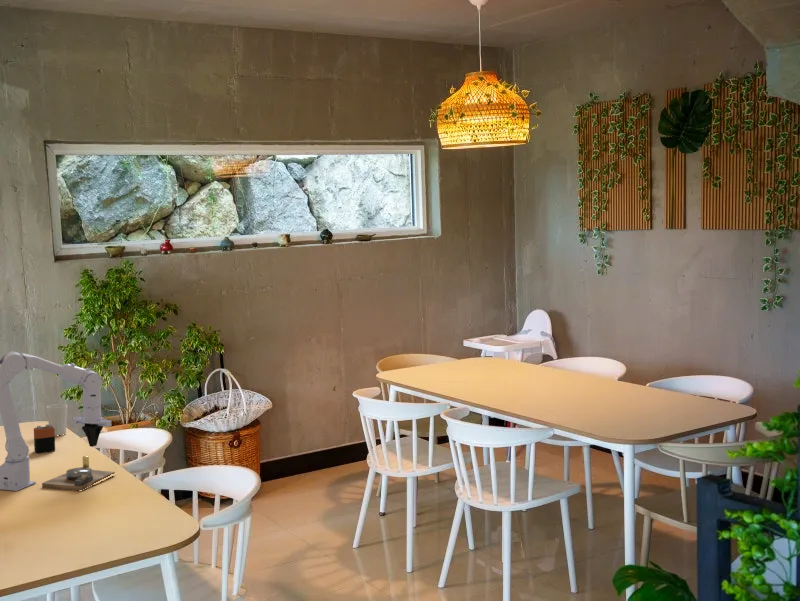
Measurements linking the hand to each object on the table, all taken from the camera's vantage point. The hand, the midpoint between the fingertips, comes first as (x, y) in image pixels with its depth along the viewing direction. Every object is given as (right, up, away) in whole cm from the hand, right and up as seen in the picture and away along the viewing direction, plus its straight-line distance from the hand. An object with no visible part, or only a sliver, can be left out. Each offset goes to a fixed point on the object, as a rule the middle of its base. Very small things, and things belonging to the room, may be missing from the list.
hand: (93, 445), depth 294 cm
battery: (-30, -8, +34) cm, 46 cm away
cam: (-2, -9, -5) cm, 11 cm away
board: (-2, -11, -7) cm, 13 cm away
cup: (-36, -6, +60) cm, 70 cm away
